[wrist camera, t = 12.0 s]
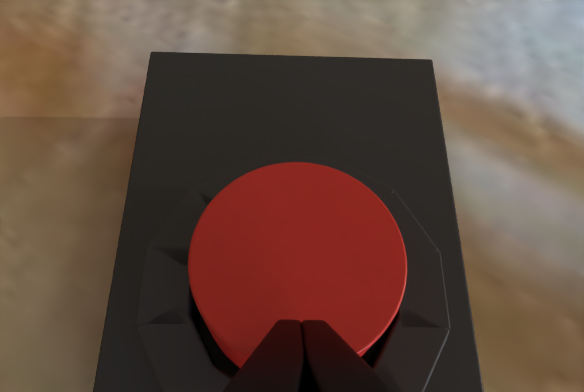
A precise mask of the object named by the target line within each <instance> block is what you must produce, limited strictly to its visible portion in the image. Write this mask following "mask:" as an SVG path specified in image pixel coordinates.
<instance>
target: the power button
mask: <svg viewBox="0 0 584 392" xmlns="http://www.w3.org/2000/svg"><path fill="white" fill-rule="evenodd" d="M188 274H189V283H190V287H191V291H192V295H193V298H194V300H195V303H196V305H197V308H198V310H199V312H200V314H201V316H202V318H203V319H204V321H205V323H206V325H207V327H208V329H209V331H210V333H211V334H212V336H213V338H214V340H215V341H216V343H217V345H218V346H219V348H220V349H221V350H222V352H223V353H224V354H225V355H226V356H227V357H228V358H229V359H230V360H231V361H232V362H233V363H234V364H235V365H236V366H238V367H239V368H241V367H242V365H243V364H244V363H245V362H246V360H247V359H248V358H249V356H250V355H251V354H252V353H253V351H254V350H255V349H256V347H257V346H258V345H259V344H260V342H261V341H262V340H263V338H264V337H265V336H266V335H267V333H268V332H269V331H270V329H271V328H272V327H273V326H274V324H275V323H276V322H277V321H278V320H280V319H291V320H299V321H300V322H301V323H302V321H304V320H324V321H326V322H327V323H328V324H329V325H330V326H331V327H332V328H333V329H334V330H335V331H336V332H337V333H338V334H339V335H340V336H341V337H342V338H343V339H344V340H345V341H346V342H347V343H348V344H349V345H350V346H351V348H352V349H353V350H354V351H355V352H356V353H357V354H358V355H359V356H360V357H361V356H362V355H363V354H364V353H365V352H366V351H367V350H368V349H369V348H370V347H371V346H372V345H373V344H374V343H375V342H376V341H377V340H378V339H379V338H380V337H381V335H382V334H383V333H384V332H385V330H386V329H387V328H388V327H389V325H390V324H391V322H392V320H393V319H394V317H395V315H396V314H397V312H398V309H399V307H400V304H401V302H402V299H403V295H404V291H405V287H406V279H407V257H406V251H405V245H404V242H403V239H402V235H401V232H400V230H399V228H398V226H397V224H396V221H395V219H394V218H393V216H392V215H391V213H390V211H389V210H388V208H387V207H386V206H385V205H384V203H383V202H382V201H381V200H380V198H379V197H378V196H377V195H375V194H374V193H373V192H372V191H371V190H370V189H369V188H368V187H366V186H365V185H364V184H362V183H361V182H360V181H358V180H357V179H355V178H353V177H351V176H350V175H348V174H346V173H344V172H341V171H339V170H337V169H334V168H331V167H327V166H324V165H319V164H314V163H305V162H285V163H278V164H272V165H268V166H264V167H261V168H258V169H255V170H253V171H250V172H248V173H246V174H244V175H242V176H241V177H239V178H237V179H236V180H234V181H233V182H231V183H230V184H228V185H227V186H226V187H225V188H224V189H223V190H221V191H220V192H219V193H218V194H217V195H216V196H215V197H214V199H213V200H212V201H211V202H210V203H209V204H208V206H207V207H206V209H205V210H204V212H203V213H202V215H201V217H200V219H199V221H198V223H197V225H196V227H195V230H194V233H193V236H192V239H191V243H190V249H189V254H188Z"/></svg>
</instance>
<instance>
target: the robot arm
mask: <svg viewBox="0 0 584 392" xmlns="http://www.w3.org/2000/svg"><path fill="white" fill-rule="evenodd" d="M222 392H395V391H394V390H393V389H392V388H391V387H390V386H389V385H388V384H387V383H386V382H385V381H384V380H383V379H382V378H381V377H380V376H379V375H378V374H377V373H376V372H375V371H374V370H373V369H372V368H371V367H370V366H369V365H368V364H367V363H366V362H365V361H364V360H363V359H362V358H361V357H360V356H359V355H358V354H357V353H356V352H355V351H354V350H353V349H352V348H351V346H350V345H349V344H348V343H347V342H346V341H345V340H344V339H343V338H342V337H341V336H340V335H339V334H338V333H337V332H336V331H335V330H334V329H333V328H332V327H331V326H330V325H329V324H328V323H327V322H326V321H324V320H304V321H302V323H301V322H300V321H299V320H291V319H280V320H278V321H277V322H276V323H275V324H274V326H273V327H272V328H271V329H270V331H269V332H268V333H267V335H266V336H265V337H264V338H263V340H262V341H261V342H260V344H259V345H258V346H257V347H256V349H255V350H254V351H253V353H252V354H251V355H250V356H249V358H248V359H247V360H246V362H245V363H244V364H243V365H242V367H241V368H240V369H239V371H238V372H237V373H236V374H235V376H234V377H233V378H232V380H231V381H230V382H229V383H228V385H227V386H226V387H225V389H224V390H223V391H222Z"/></svg>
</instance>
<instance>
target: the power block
mask: <svg viewBox="0 0 584 392" xmlns="http://www.w3.org/2000/svg"><path fill="white" fill-rule="evenodd" d="M285 162H305V163H314V164H319V165H324V166H327V167H331V168H334V169H337V170H339V171H341V172H344V173H346V174H348V175H350V176H351V177H353V178H355V179H357V180H358V181H360V182H361V183H362V184H364V185H365V186H366V187H368V188H369V189H370V190H371V191H372V192H373V193H374V194H375V195H377V196H378V197H379V198H380V200H381V201H382V202H383V203H384V205H385V206H386V207H387V208H388V210H389V211H390V213H391V215H392V216H393V218H394V219H395V221H396V224H397V226H398V228H399V230H400V232H401V235H402V239H403V242H404V245H405V251H406V257H407V279H406V287H405V291H404V295H403V299H402V302H401V304H400V307H399V309H398V312H397V314H396V315H395V317H394V319H393V320H392V322H391V324H390V325H389V327H388V328H387V329H386V330H385V332H384V333H383V334H382V335H381V337H380V338H379V339H378V340H377V341H376V342H375V343H374V344H373V345H372V346H371V347H370V348H369V349H368V350H367V351H366V352H365V353H364V354H363V355H362V356H361V358H362V359H363V360H364V361H365V362H366V363H367V364H368V365H369V366H370V367H371V368H372V369H373V370H374V371H375V372H376V373H377V374H378V375H379V376H380V377H381V378H382V379H383V380H384V381H385V382H386V383H387V384H388V385H389V386H390V387H391V388H392V389H393V390H394V391H395V392H484V390H483V384H482V377H481V371H480V365H479V358H478V352H477V345H476V339H475V332H474V326H473V320H472V313H471V307H470V300H469V294H468V287H467V281H466V275H465V268H464V262H463V255H462V249H461V242H460V236H459V229H458V223H457V217H456V210H455V204H454V197H453V191H452V184H451V178H450V172H449V165H448V159H447V152H446V146H445V139H444V133H443V127H442V120H441V114H440V107H439V101H438V94H437V88H436V81H435V75H434V69H433V62H432V60H426V59H391V58H355V57H320V56H284V55H249V54H213V53H178V52H151V54H150V60H149V66H148V72H147V78H146V83H145V89H144V95H143V101H142V107H141V113H140V119H139V125H138V130H137V136H136V142H135V148H134V154H133V160H132V166H131V171H130V177H129V183H128V189H127V195H126V201H125V207H124V213H123V218H122V224H121V230H120V236H119V242H118V248H117V254H116V260H115V265H114V271H113V277H112V283H111V289H110V295H109V301H108V306H107V312H106V318H105V324H104V330H103V336H102V342H101V348H100V353H99V359H98V365H97V371H96V377H95V383H94V389H93V392H222V391H223V390H224V389H225V387H226V386H227V385H228V383H229V382H230V381H231V380H232V378H233V377H234V376H235V374H236V373H237V372H238V371H239V369H240V368H239V367H238V366H236V365H235V364H234V363H233V362H232V361H231V360H230V359H229V358H228V357H227V356H226V355H225V354H224V353H223V352H222V350H221V349H220V348H219V346H218V345H217V343H216V341H215V340H214V338H213V336H212V334H211V333H210V331H209V329H208V327H207V325H206V323H205V321H204V319H203V318H202V316H201V314H200V312H199V310H198V308H197V305H196V303H195V300H194V298H193V295H192V291H191V287H190V283H189V274H188V254H189V249H190V243H191V239H192V236H193V233H194V230H195V227H196V225H197V223H198V221H199V219H200V217H201V215H202V213H203V212H204V210H205V209H206V207H207V206H208V204H209V203H210V202H211V201H212V200H213V199H214V197H215V196H216V195H217V194H218V193H219V192H220V191H221V190H223V189H224V188H225V187H226V186H227V185H228V184H230V183H231V182H233V181H234V180H236V179H237V178H239V177H241V176H242V175H244V174H246V173H248V172H250V171H253V170H255V169H258V168H261V167H264V166H268V165H272V164H278V163H285Z"/></svg>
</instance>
